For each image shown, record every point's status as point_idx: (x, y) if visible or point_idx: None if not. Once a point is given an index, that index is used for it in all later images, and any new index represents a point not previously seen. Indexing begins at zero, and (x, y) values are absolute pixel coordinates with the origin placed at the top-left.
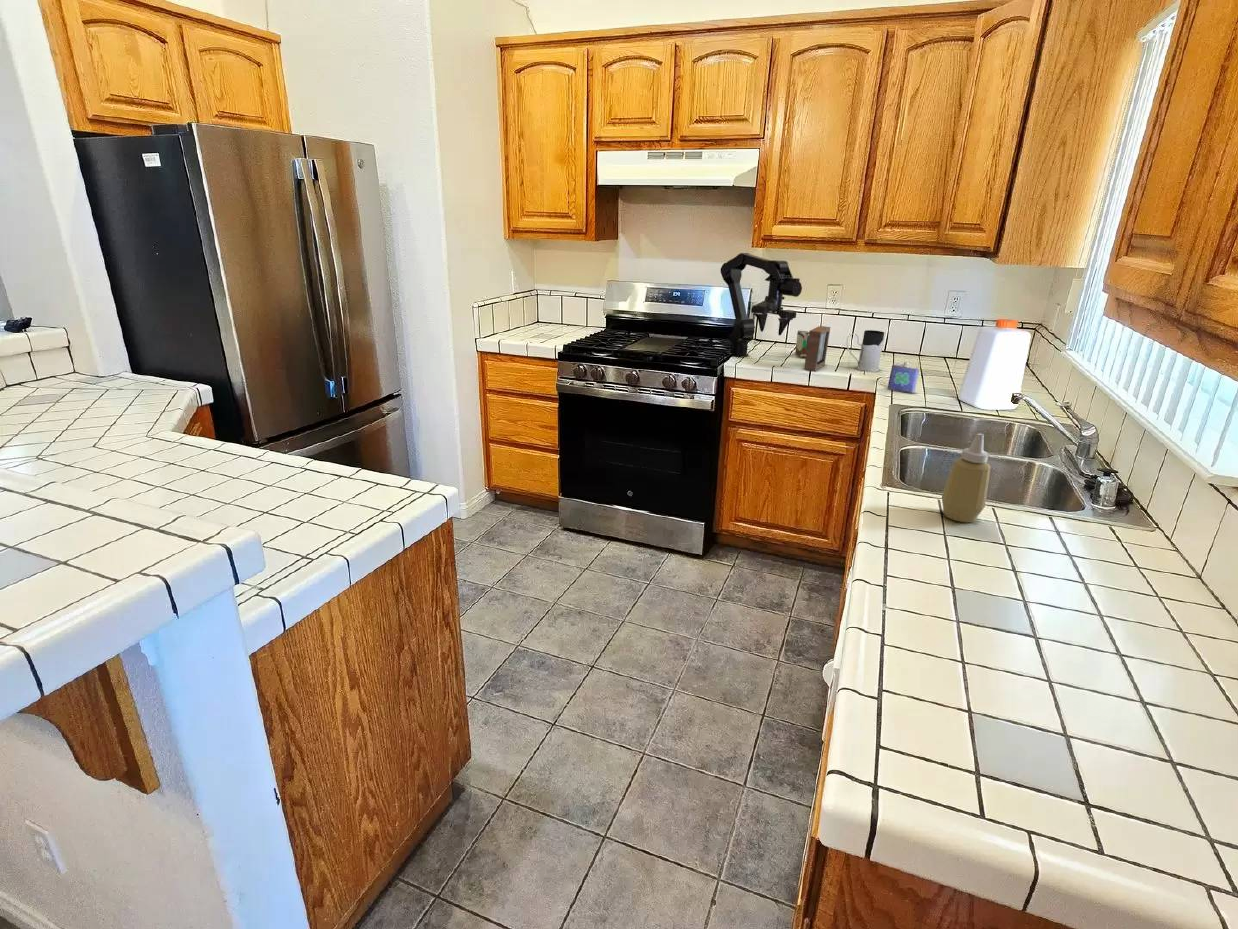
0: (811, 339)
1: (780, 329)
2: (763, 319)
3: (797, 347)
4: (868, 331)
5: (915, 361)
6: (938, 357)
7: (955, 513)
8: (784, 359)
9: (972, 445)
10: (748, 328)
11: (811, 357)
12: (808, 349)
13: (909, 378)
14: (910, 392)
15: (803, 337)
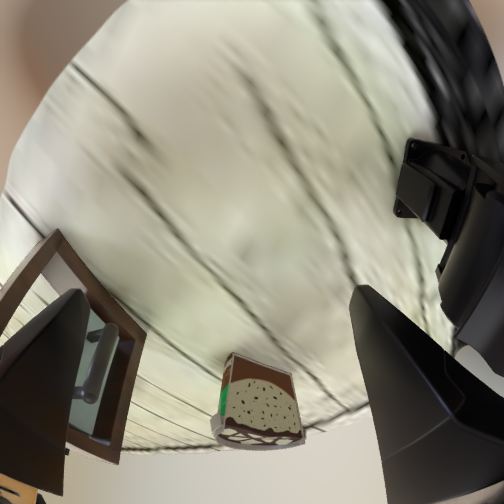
0: None
1: (21, 328)
2: (407, 437)
3: (281, 391)
4: (67, 451)
5: (131, 431)
6: (151, 448)
7: None
8: (243, 299)
9: None
10: (496, 264)
11: (17, 270)
12: (6, 290)
13: None
14: None
15: (232, 423)
